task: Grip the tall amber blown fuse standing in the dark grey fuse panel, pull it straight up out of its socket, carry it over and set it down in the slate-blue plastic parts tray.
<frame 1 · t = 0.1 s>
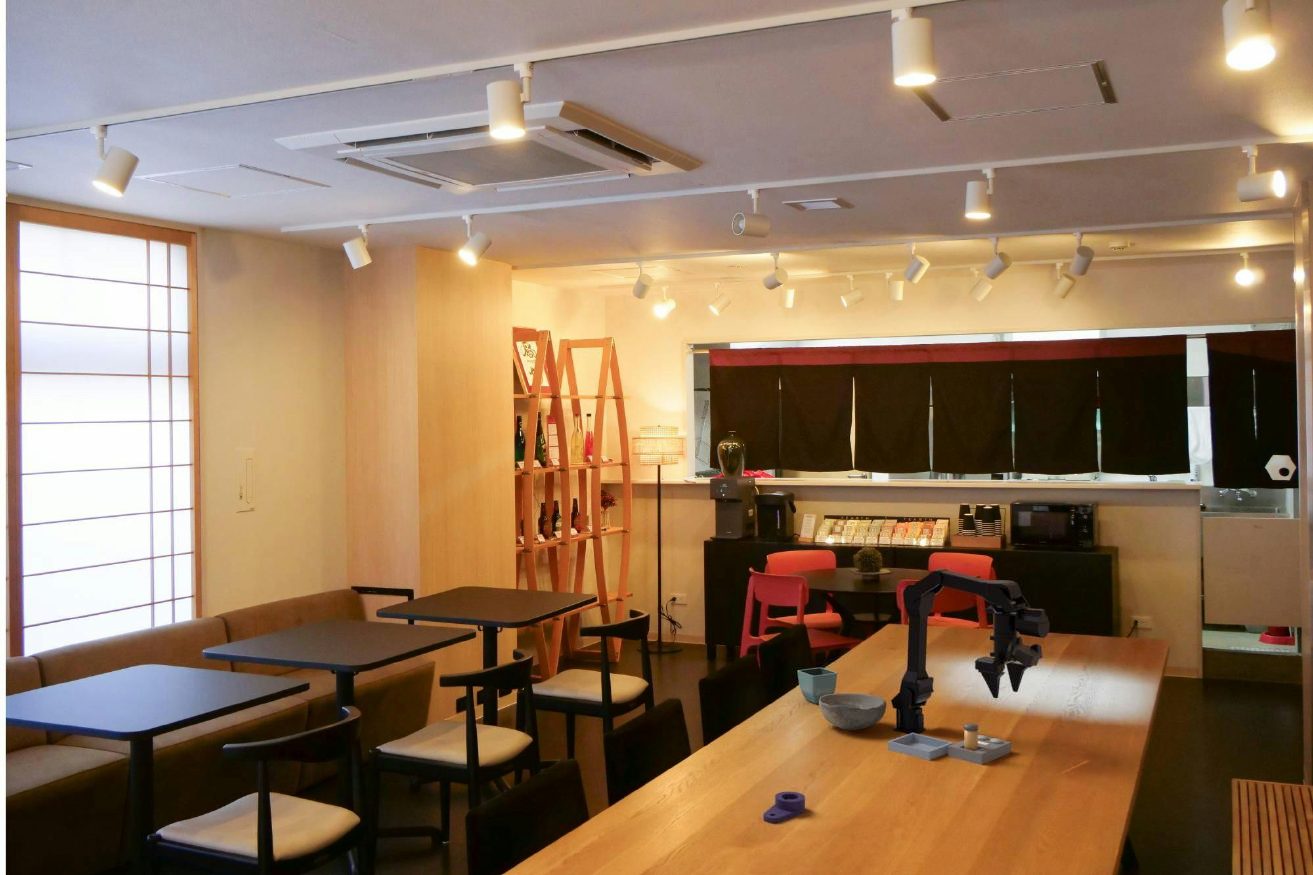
hand: (1005, 694, 263), 15 cm above the table, fingers open, 9 cm apart
lever: (783, 816, 223), on the table
fuse panel: (979, 756, 261), on the table
blown fuse: (971, 757, 259), resting on fuse panel
bowl: (852, 728, 287), on the table
parts tray: (920, 751, 265), on the table
flower pot: (817, 702, 315), on the table
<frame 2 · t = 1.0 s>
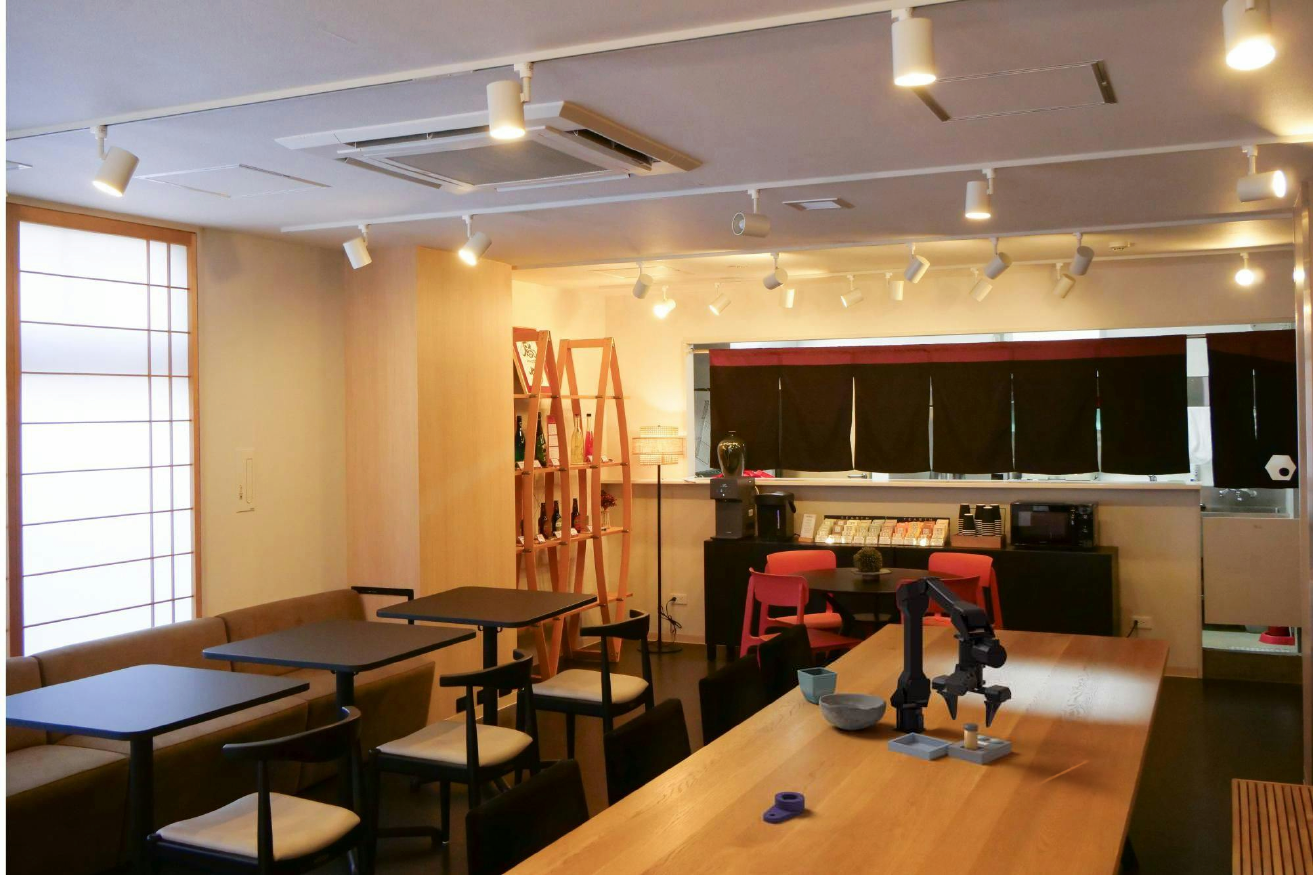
hand: (970, 723, 259), 9 cm above the table, fingers open, 9 cm apart
nothing on the table moved.
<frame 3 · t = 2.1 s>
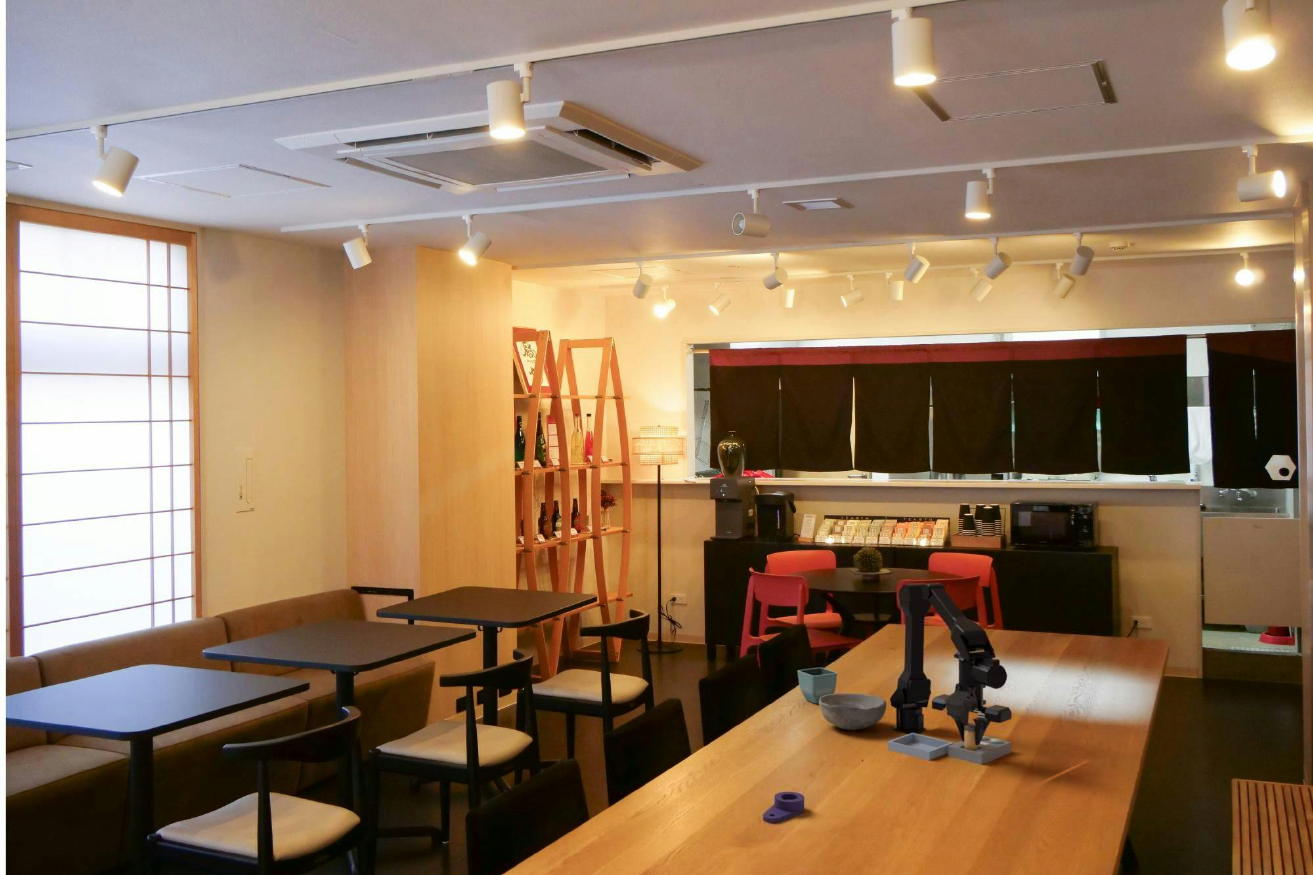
hand: (971, 743, 259), 4 cm above the table, fingers closed on blown fuse, 3 cm apart
blown fuse: (971, 757, 259), point 1 cm above the table, touching fuse panel, gripper
everything else where it was.
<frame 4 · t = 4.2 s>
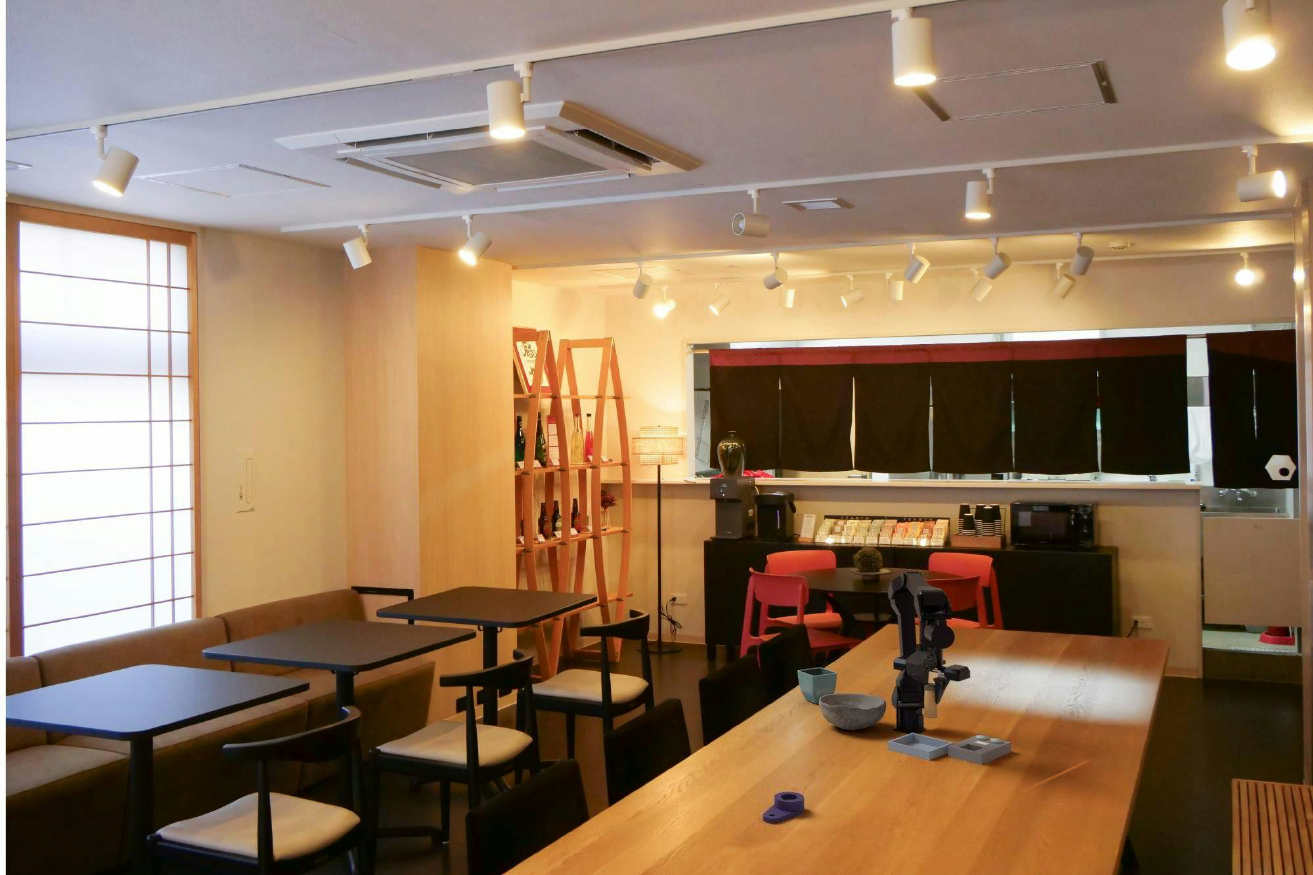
hand: (930, 702, 264), 13 cm above the table, fingers closed on blown fuse, 3 cm apart
blown fuse: (931, 716, 264), point 9 cm above the table, touching gripper
everything else where it was.
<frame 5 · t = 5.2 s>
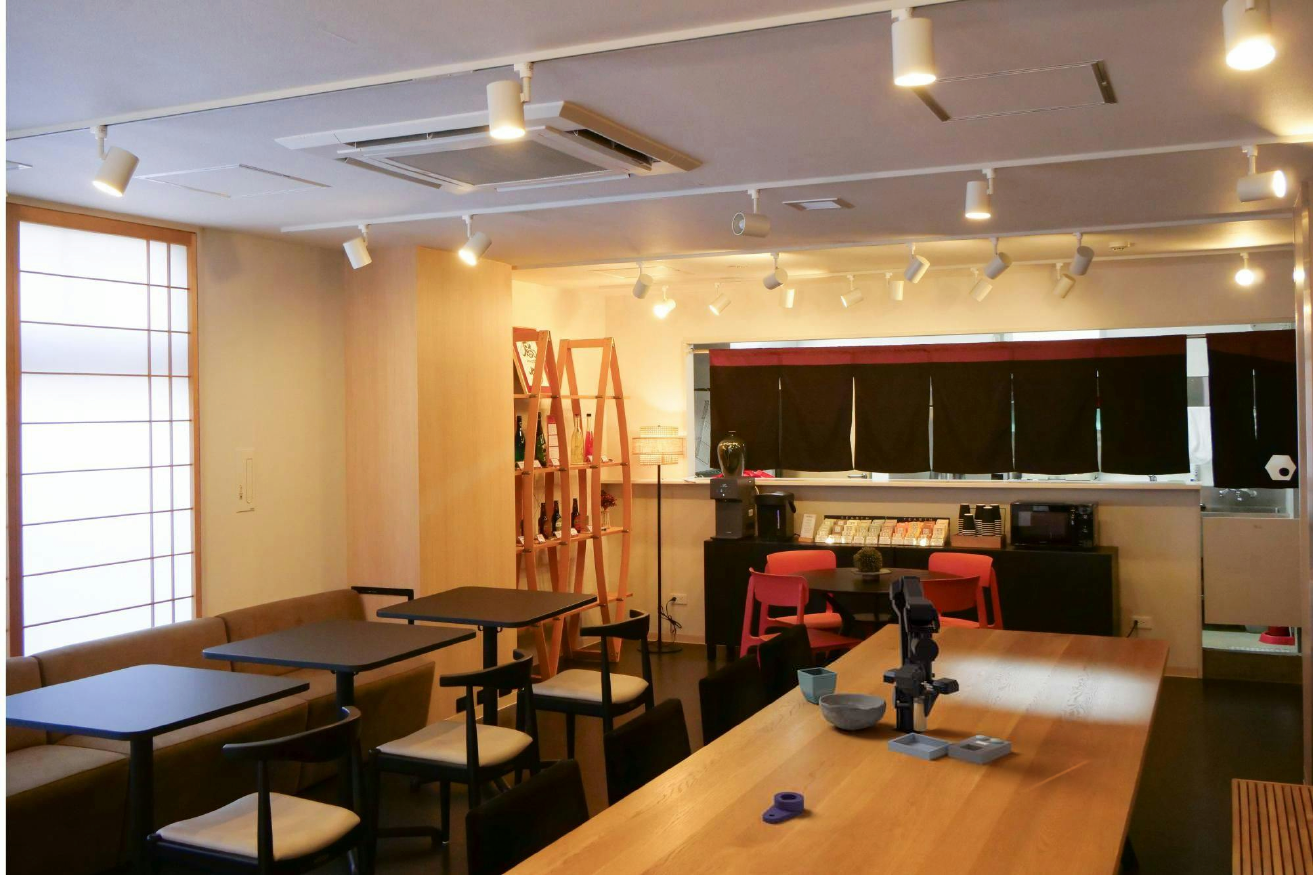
hand: (920, 715, 265), 9 cm above the table, fingers closed on blown fuse, 3 cm apart
blown fuse: (920, 729, 265), point 6 cm above the table, touching gripper
everything else where it was.
when the fingers open (5 cm above the table, at t = 6.2 s): blown fuse stays where it is, resting on parts tray.
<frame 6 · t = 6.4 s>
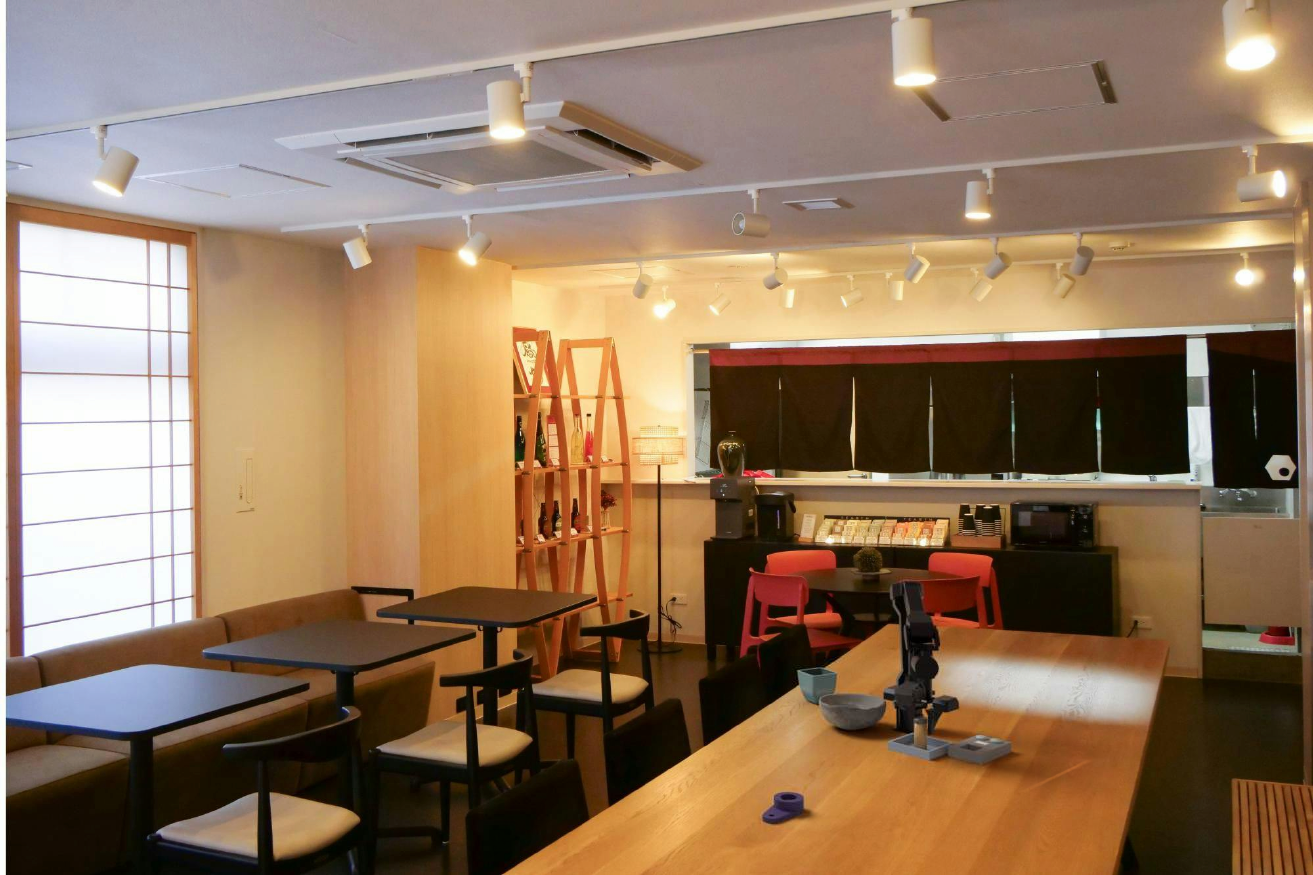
hand: (920, 732, 265), 5 cm above the table, fingers open, 5 cm apart
blown fuse: (920, 749, 265), point 1 cm above the table, touching parts tray
everything else where it was.
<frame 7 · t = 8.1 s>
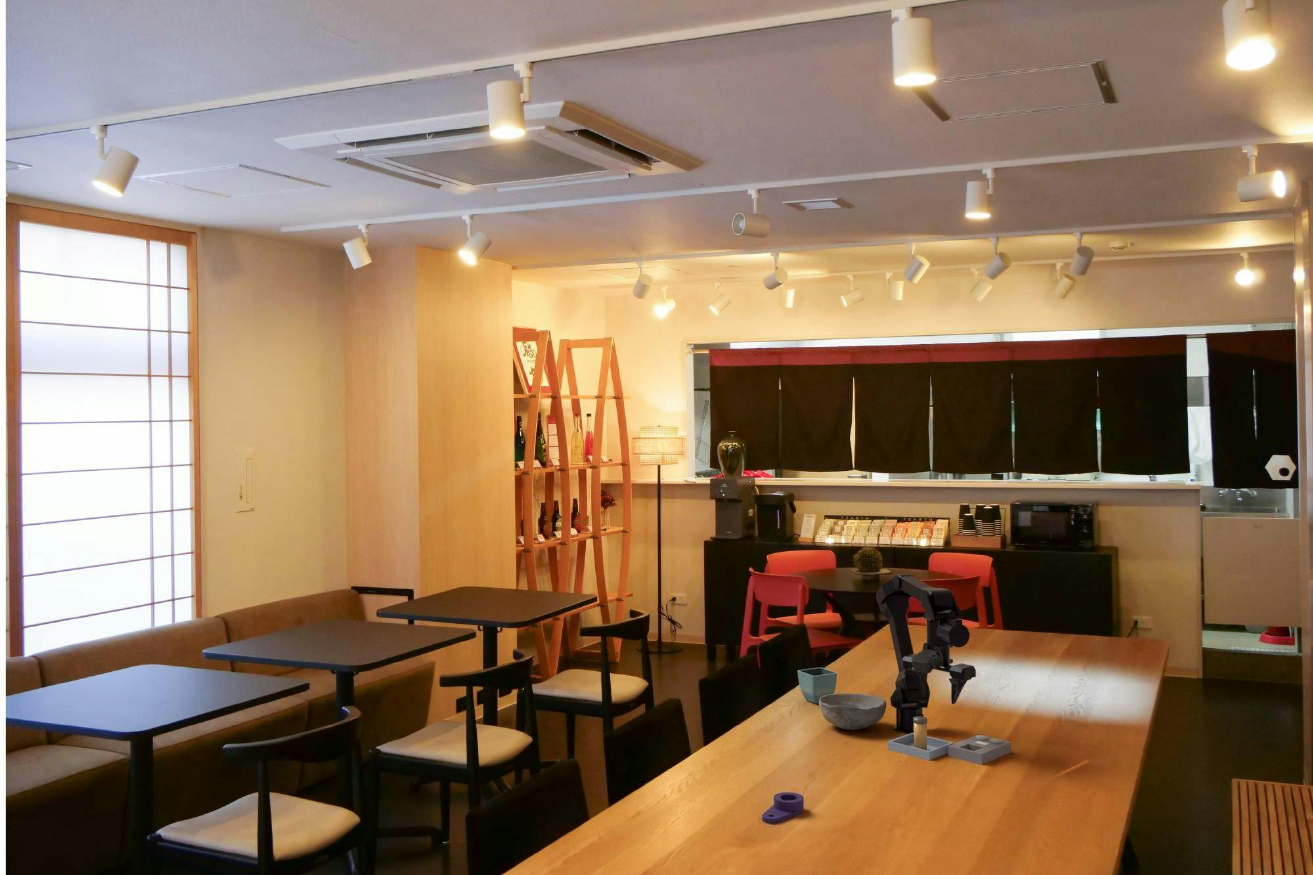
hand: (938, 700, 269), 12 cm above the table, fingers open, 9 cm apart
nothing on the table moved.
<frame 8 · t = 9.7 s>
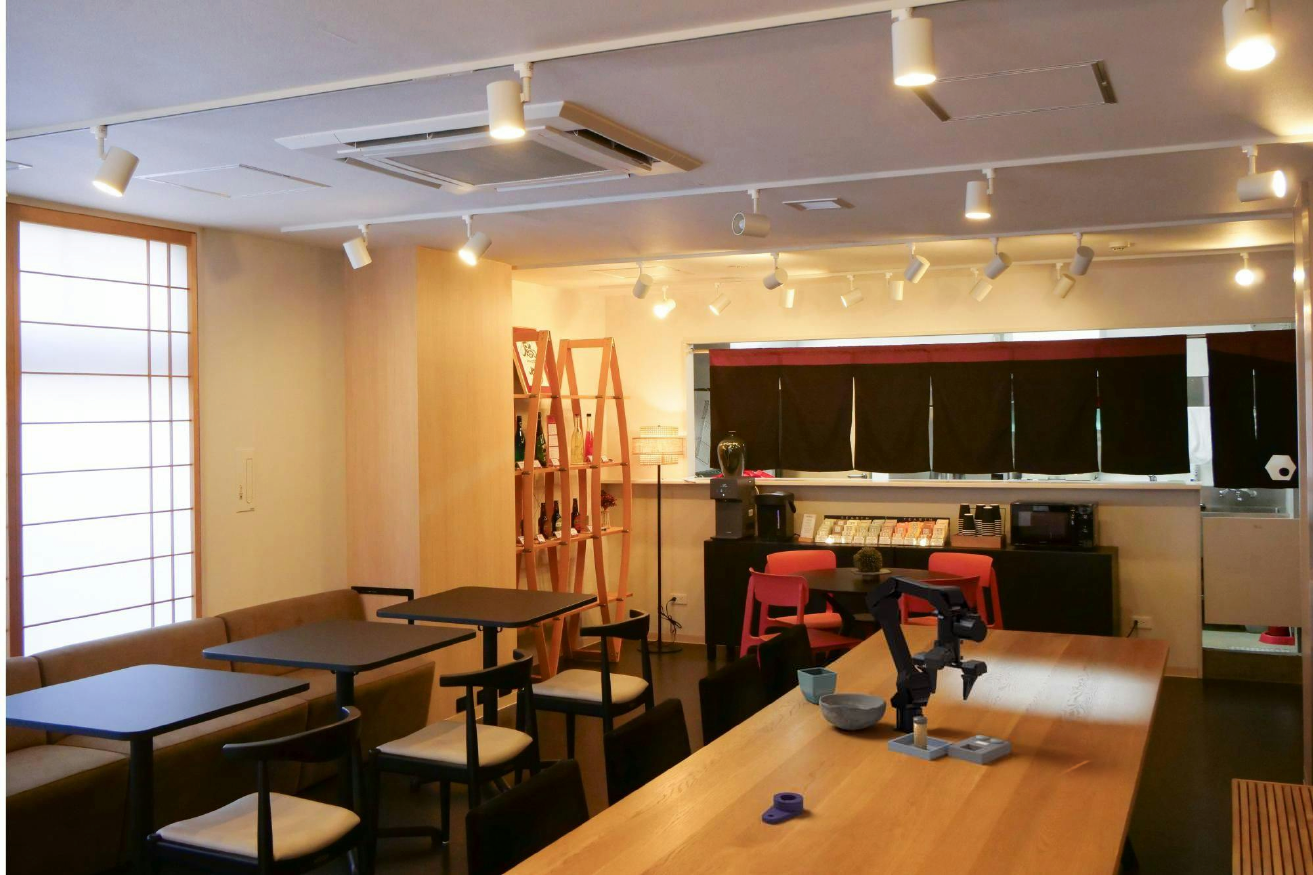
hand: (949, 696, 272), 12 cm above the table, fingers open, 9 cm apart
nothing on the table moved.
at the end: blown fuse inside the target area on the parts tray (0.0 cm from its centre), point 0.5 cm above the parts tray's base; the gripper is holding nothing; blown fuse touching parts tray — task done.
